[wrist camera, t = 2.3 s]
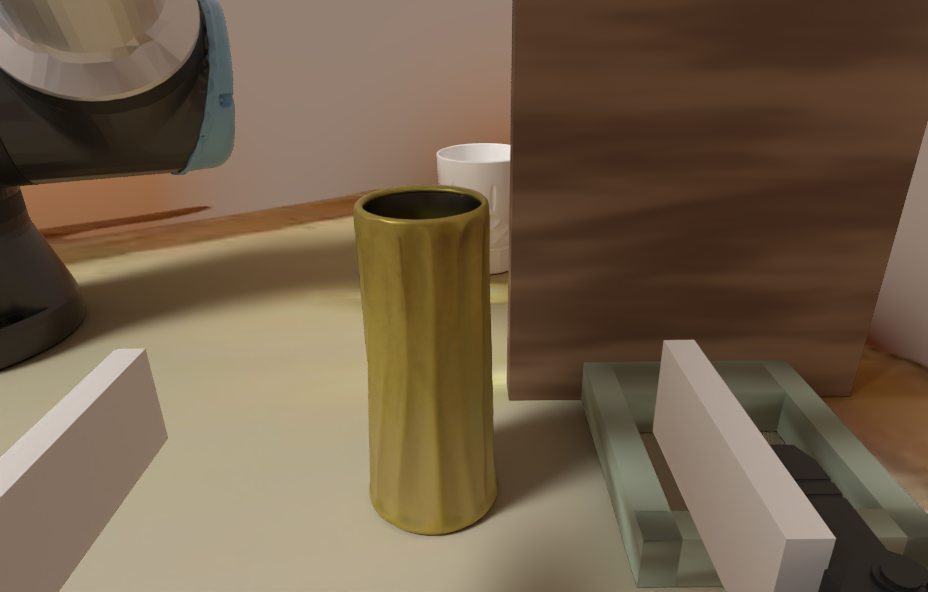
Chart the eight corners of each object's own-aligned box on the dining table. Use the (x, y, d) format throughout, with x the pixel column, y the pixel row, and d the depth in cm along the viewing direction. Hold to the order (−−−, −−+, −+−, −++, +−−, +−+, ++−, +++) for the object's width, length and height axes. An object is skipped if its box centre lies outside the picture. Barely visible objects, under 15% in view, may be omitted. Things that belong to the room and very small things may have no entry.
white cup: (447, 281, 53) (444, 164, 49) (434, 250, 61) (430, 145, 56) (537, 274, 55) (541, 159, 51) (513, 244, 62) (515, 141, 58)
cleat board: (1036, 583, 25) (1401, -148, 15) (529, 587, 25) (557, -132, 15) (831, 378, 39) (950, -72, 29) (506, 381, 39) (513, -64, 29)
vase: (394, 442, 34) (375, 178, 28) (507, 457, 32) (512, 184, 26) (350, 525, 28) (314, 219, 22) (484, 548, 27) (483, 229, 21)
